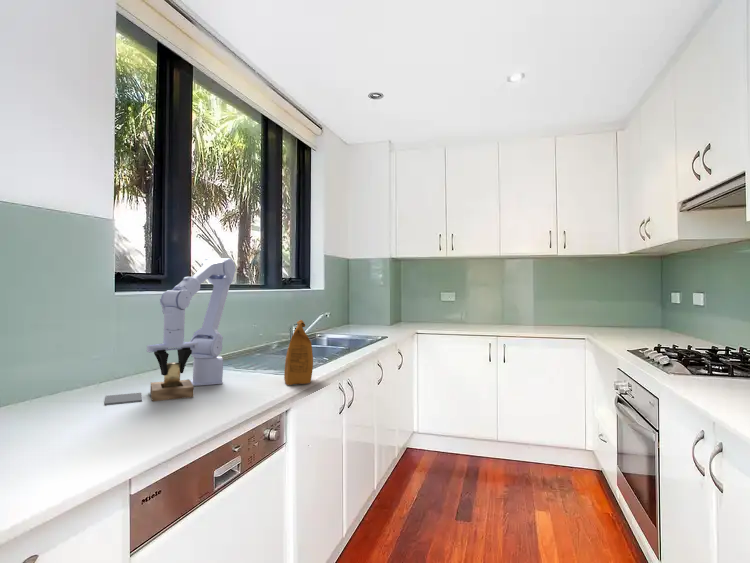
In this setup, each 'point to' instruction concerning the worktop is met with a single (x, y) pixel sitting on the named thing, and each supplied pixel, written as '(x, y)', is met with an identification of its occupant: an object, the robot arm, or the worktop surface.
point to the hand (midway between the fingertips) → (172, 373)
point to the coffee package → (299, 358)
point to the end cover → (172, 375)
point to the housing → (171, 391)
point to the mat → (123, 398)
